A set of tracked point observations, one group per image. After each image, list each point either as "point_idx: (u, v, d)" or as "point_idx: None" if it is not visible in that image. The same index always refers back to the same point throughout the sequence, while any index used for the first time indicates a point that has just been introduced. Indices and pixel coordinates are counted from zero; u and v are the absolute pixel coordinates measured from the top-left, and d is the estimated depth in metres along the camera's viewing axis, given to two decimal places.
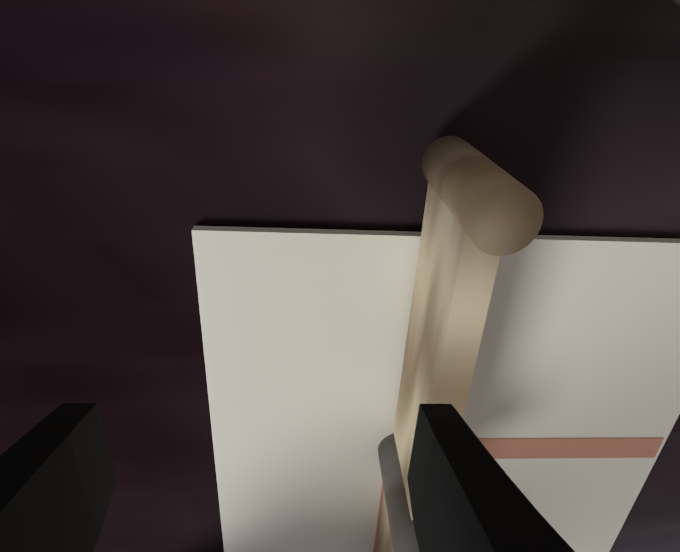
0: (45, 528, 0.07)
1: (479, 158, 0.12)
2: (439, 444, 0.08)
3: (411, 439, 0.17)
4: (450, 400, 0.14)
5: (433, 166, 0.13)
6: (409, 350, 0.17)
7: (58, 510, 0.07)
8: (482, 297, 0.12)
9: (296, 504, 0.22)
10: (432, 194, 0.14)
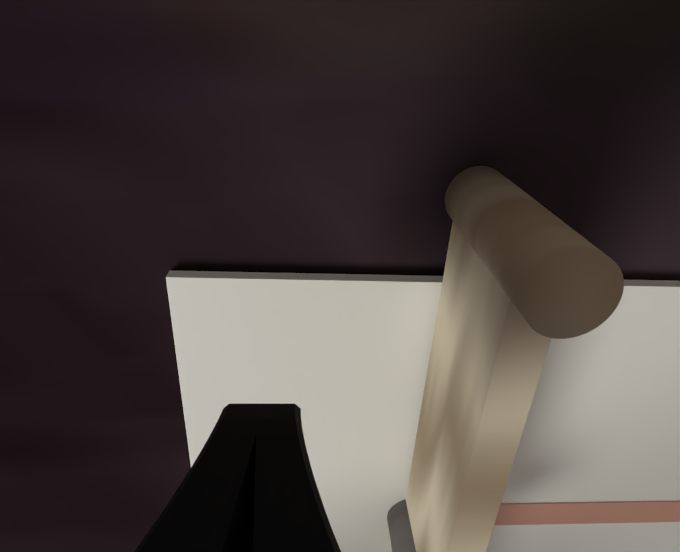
0: (245, 524, 0.07)
1: (526, 202, 0.09)
2: (255, 445, 0.07)
3: (430, 523, 0.14)
4: (482, 494, 0.11)
5: (462, 206, 0.11)
6: (426, 414, 0.14)
7: (250, 507, 0.08)
8: (528, 377, 0.10)
9: None
10: (458, 237, 0.12)
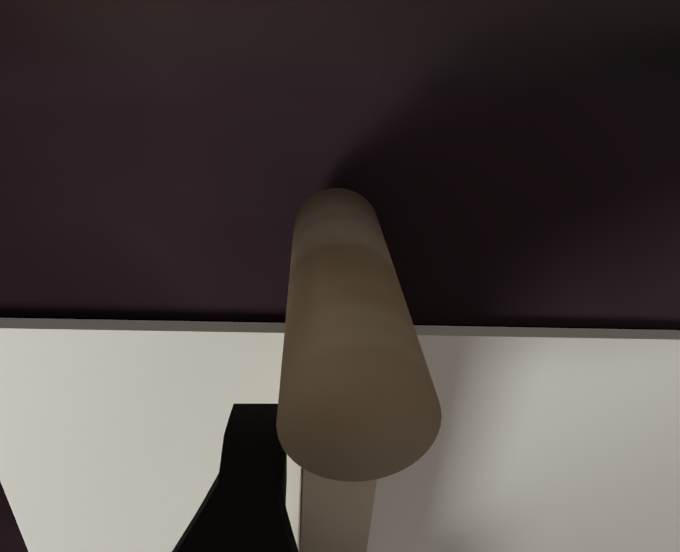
0: None
1: (348, 251, 0.06)
2: None
3: None
4: None
5: None
6: None
7: None
8: (358, 501, 0.07)
9: None
10: None
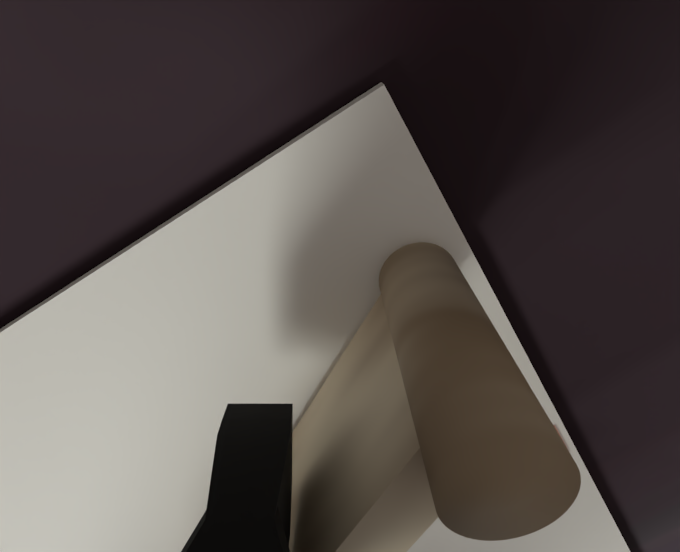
0: (282, 524, 0.07)
1: (483, 323, 0.07)
2: None
3: None
4: None
5: (401, 288, 0.08)
6: None
7: (285, 507, 0.08)
8: (399, 541, 0.07)
9: None
10: (380, 317, 0.09)
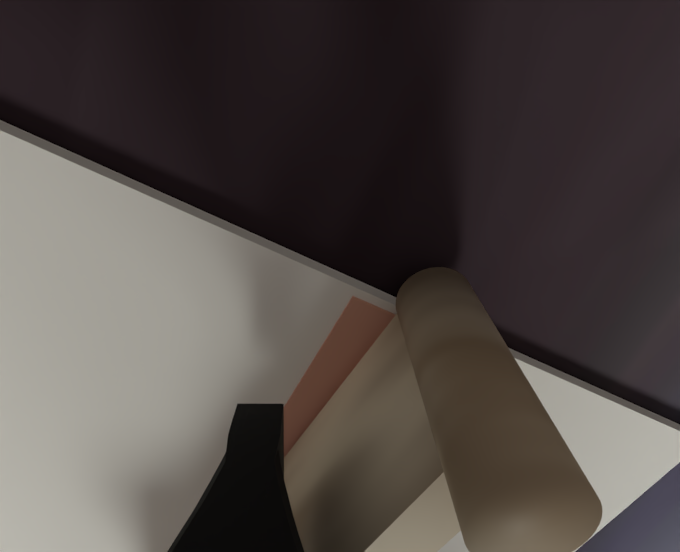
0: None
1: (505, 354, 0.07)
2: (227, 445, 0.07)
3: None
4: None
5: (422, 312, 0.08)
6: None
7: None
8: None
9: None
10: (396, 337, 0.10)
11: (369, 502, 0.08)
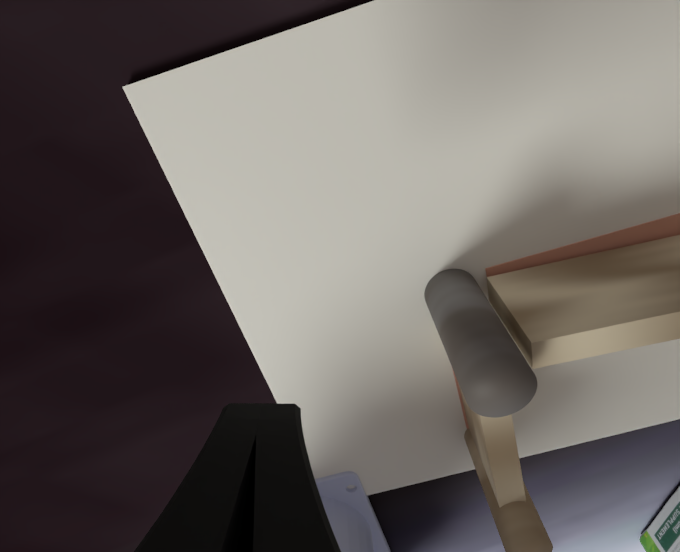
0: (245, 524, 0.07)
1: None
2: (255, 445, 0.07)
3: (587, 300, 0.15)
4: None
5: None
6: (627, 256, 0.16)
7: (250, 507, 0.08)
8: None
9: (361, 391, 0.20)
10: None
11: None
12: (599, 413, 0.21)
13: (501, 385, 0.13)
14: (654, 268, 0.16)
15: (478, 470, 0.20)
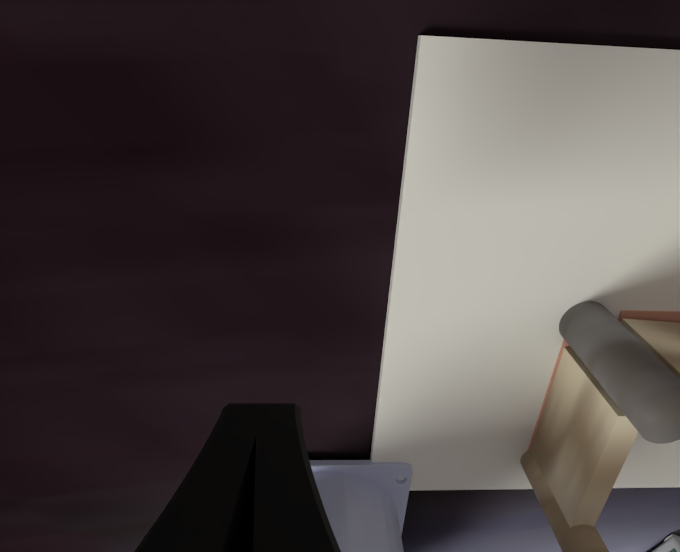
0: (245, 524, 0.07)
1: None
2: (256, 445, 0.07)
3: None
4: None
5: None
6: None
7: (250, 507, 0.08)
8: None
9: (460, 390, 0.21)
10: None
11: None
12: (637, 465, 0.24)
13: (675, 415, 0.15)
14: None
15: (541, 489, 0.21)
